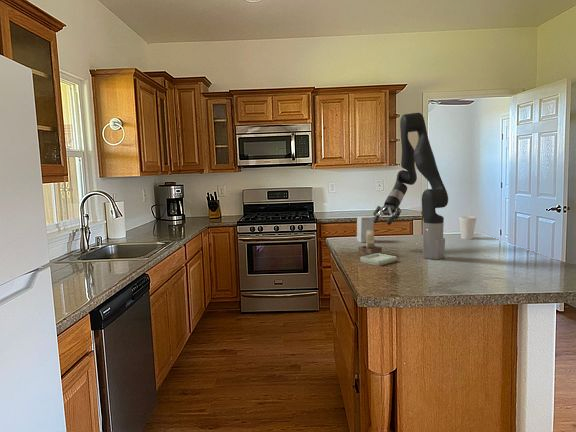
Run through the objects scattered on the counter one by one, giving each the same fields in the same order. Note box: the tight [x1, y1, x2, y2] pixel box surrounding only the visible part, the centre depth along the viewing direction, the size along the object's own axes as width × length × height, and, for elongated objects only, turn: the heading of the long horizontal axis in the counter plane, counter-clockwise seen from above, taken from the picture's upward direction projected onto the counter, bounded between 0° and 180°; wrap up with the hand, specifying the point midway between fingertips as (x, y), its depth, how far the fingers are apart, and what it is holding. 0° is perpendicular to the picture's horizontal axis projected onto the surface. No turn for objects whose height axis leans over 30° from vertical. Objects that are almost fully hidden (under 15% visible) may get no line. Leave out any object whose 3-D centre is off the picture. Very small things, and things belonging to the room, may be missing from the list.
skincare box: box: [356, 216, 375, 243], centre depth 240 cm, size 8×6×15 cm
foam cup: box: [458, 215, 477, 240], centre depth 244 cm, size 10×9×13 cm
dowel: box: [365, 229, 375, 249], centre depth 206 cm, size 4×4×12 cm
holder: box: [358, 245, 383, 256], centre depth 207 cm, size 8×8×4 cm
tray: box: [359, 253, 398, 267], centre depth 191 cm, size 11×13×2 cm
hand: (381, 223), depth 212 cm, fingers open, 8 cm apart
